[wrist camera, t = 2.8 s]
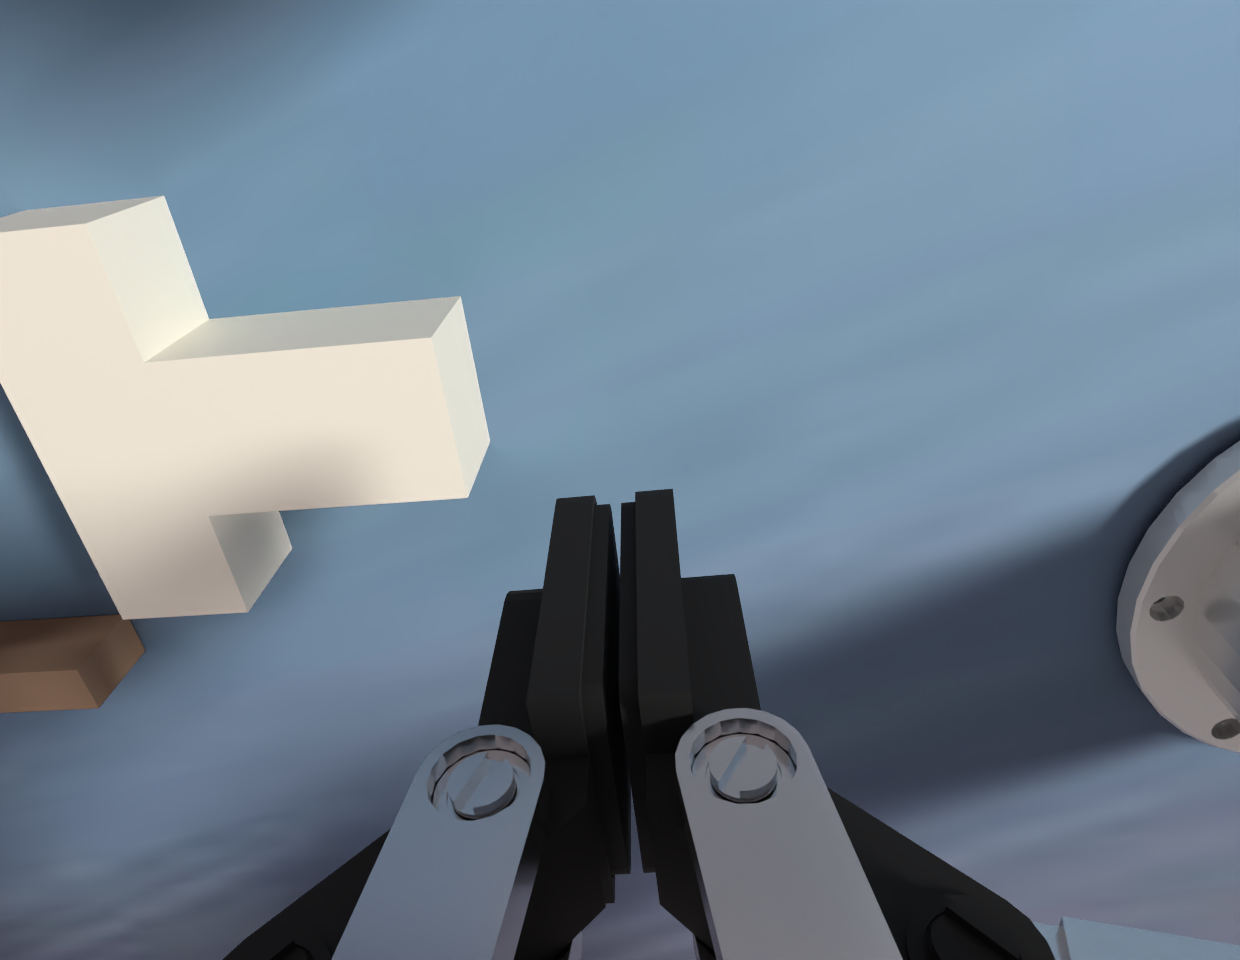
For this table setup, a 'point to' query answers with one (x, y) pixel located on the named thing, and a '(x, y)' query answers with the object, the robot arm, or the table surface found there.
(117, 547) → the t block
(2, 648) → the brown u-shaped bracket
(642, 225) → the table surface
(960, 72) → the table surface
